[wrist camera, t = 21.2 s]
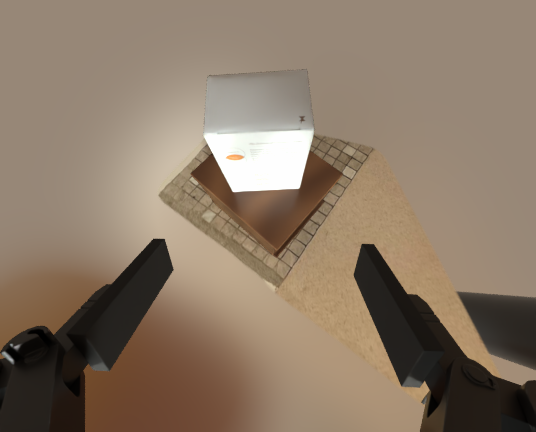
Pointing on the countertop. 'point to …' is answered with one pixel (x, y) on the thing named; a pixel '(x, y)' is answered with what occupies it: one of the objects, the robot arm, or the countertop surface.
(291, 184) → the small box
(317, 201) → the chest
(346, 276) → the countertop surface
